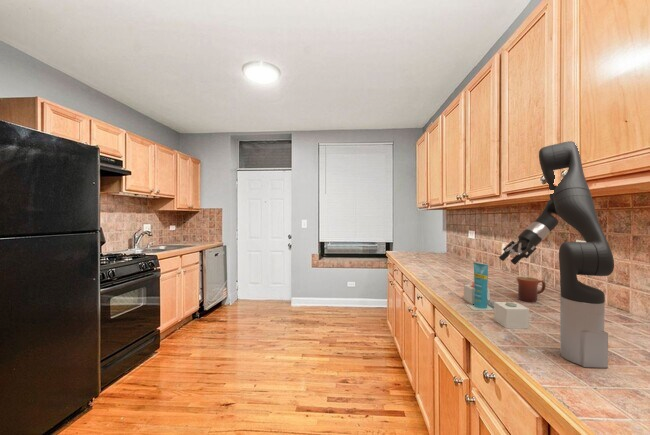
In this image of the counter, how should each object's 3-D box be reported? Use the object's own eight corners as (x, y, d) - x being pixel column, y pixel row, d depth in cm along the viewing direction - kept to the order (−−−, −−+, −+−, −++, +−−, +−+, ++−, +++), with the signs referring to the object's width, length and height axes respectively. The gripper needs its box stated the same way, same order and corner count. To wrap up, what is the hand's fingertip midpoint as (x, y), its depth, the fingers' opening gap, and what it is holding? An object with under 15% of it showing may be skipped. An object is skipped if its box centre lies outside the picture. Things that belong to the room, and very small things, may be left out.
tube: (469, 305, 125) (469, 262, 125) (477, 303, 127) (476, 261, 127) (485, 310, 118) (485, 265, 118) (492, 308, 120) (492, 264, 120)
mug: (523, 303, 128) (523, 280, 128) (512, 297, 137) (512, 276, 137) (551, 303, 127) (551, 281, 127) (538, 298, 136) (538, 277, 136)
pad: (494, 310, 119) (494, 309, 119) (472, 310, 120) (472, 309, 120) (486, 305, 125) (486, 304, 125) (466, 305, 126) (466, 304, 126)
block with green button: (529, 328, 100) (529, 307, 100) (506, 328, 101) (506, 307, 101) (515, 320, 108) (515, 300, 108) (494, 319, 109) (494, 300, 109)
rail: (518, 320, 108) (518, 313, 108) (512, 320, 108) (512, 313, 108) (492, 304, 127) (492, 299, 127) (487, 304, 127) (487, 299, 127)
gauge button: (481, 292, 129) (481, 283, 129) (474, 292, 129) (474, 283, 129) (478, 290, 133) (478, 281, 132) (470, 290, 133) (470, 281, 133)
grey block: (489, 304, 127) (489, 289, 127) (471, 304, 127) (471, 289, 127) (480, 299, 135) (480, 284, 135) (463, 299, 135) (463, 284, 135)
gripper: (516, 227, 128) (491, 252, 129) (539, 229, 114) (510, 257, 115) (528, 239, 128) (503, 264, 129) (552, 242, 114) (523, 270, 115)
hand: (506, 261), depth 122 cm, fingers open, 8 cm apart
